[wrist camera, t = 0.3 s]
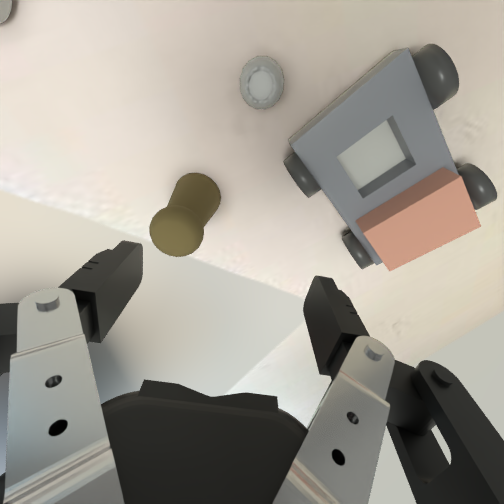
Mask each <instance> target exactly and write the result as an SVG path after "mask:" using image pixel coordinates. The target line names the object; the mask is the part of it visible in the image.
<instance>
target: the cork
mask: <svg viewBox="0 0 504 504" xmlns="http://www.w3.org/2000/svg"><path fill="white" fill-rule="evenodd" d="M220 201H221V195H220V190H219V188H218V187H217V185H216V183H215V182H214V181H213V180H212V179H211V178H209V177H207V176H206V175H204V174H199V173H189V174H187V175H184V176H182V177H181V178H180V179H179V180H178V182H177V184H176V186H175V189H174V191H173V193H172V196H171V198H170V201H169V203H168V205H167V207H166V208H163V209H161V210H159V212H158V213H157V214H156V215H155V216H154V217H153V218H152V221H151V224H150V227H149V228H150V236H151V239H152V241H153V243H154V245H155V246H156V247H157V248H158V249H159V250H160V251H162V252H163V253H165V254H167V255H170V256H175V257H181V256H186V255H189V254H192V253H193V252H194V251H195V250H196V249H198V248H199V246H200V244H201V242H202V240H203V235H204V226H205V225H206V224H207V222H208V221H209V220H210V218H211V217H212V216H213V214H214V213H215V212H216V210H217V209H218V207H219V205H220Z"/></svg>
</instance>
